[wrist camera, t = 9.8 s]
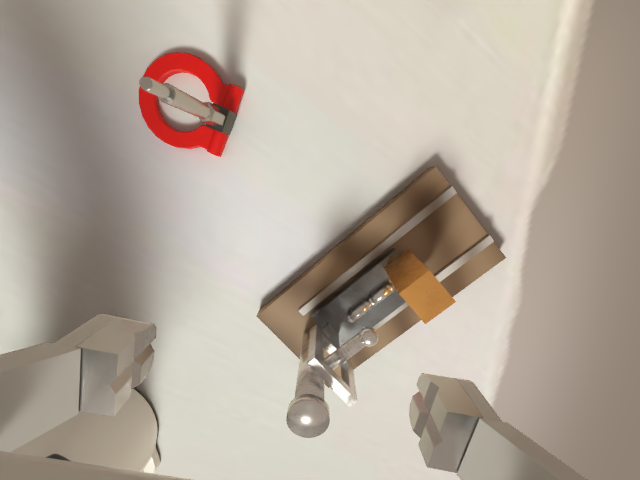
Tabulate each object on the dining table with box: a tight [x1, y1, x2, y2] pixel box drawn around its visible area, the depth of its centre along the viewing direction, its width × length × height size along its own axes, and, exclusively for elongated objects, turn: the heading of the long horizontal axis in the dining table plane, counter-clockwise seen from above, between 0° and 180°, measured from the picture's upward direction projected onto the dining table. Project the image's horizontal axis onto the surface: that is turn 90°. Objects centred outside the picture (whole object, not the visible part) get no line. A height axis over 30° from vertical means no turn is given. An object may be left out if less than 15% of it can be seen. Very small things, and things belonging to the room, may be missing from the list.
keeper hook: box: [287, 326, 378, 438], centre depth 27 cm, size 9×3×11 cm, turn 131°
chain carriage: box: [307, 248, 456, 406], centre depth 27 cm, size 12×5×9 cm, turn 131°
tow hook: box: [139, 52, 244, 157], centre depth 23 cm, size 8×13×9 cm
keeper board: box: [257, 167, 506, 388], centre depth 32 cm, size 24×12×2 cm, turn 131°
